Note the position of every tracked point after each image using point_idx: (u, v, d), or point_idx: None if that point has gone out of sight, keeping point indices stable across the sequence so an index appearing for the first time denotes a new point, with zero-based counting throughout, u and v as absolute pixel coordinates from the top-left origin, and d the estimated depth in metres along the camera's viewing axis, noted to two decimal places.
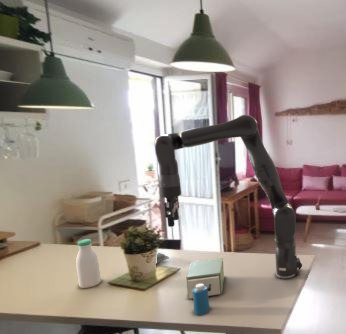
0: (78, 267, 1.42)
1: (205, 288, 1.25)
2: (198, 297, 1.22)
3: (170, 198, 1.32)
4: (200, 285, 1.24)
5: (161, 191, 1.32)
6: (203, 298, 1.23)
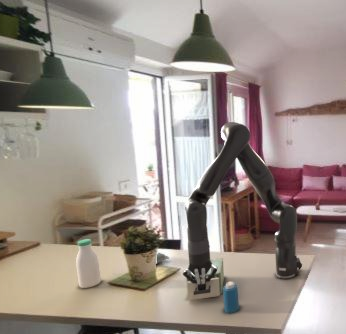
0: (78, 267, 1.42)
1: (235, 286, 1.26)
2: (229, 295, 1.23)
3: (189, 263, 1.27)
4: (230, 283, 1.25)
5: None
6: (234, 296, 1.24)
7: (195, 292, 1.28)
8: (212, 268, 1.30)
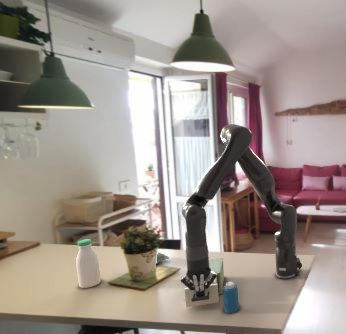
0: (78, 267, 1.42)
1: (235, 286, 1.26)
2: (229, 295, 1.23)
3: (187, 269, 1.23)
4: (230, 283, 1.25)
5: None
6: (234, 296, 1.24)
7: (193, 299, 1.23)
8: (211, 274, 1.25)
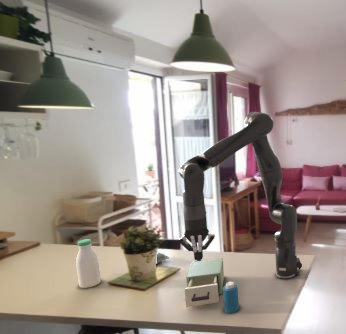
0: (78, 267, 1.42)
1: (235, 286, 1.26)
2: (229, 295, 1.23)
3: (185, 230, 1.22)
4: (230, 283, 1.25)
5: None
6: (234, 296, 1.24)
7: (193, 299, 1.23)
8: (209, 236, 1.25)
